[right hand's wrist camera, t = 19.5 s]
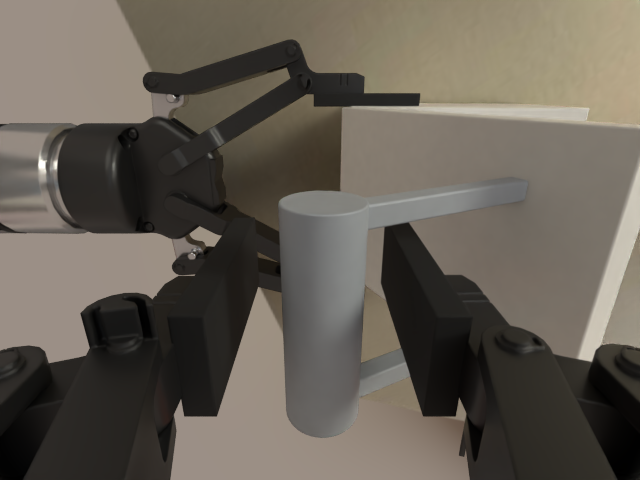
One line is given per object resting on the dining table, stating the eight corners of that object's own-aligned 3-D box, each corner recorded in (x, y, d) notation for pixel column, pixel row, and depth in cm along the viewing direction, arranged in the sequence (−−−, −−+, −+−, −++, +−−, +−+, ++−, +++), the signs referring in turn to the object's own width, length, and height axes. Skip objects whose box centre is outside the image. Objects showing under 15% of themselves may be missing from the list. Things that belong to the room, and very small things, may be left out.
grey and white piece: (675, 126, 10) (358, 151, 5) (577, 416, 13) (342, 565, 9) (360, 107, 22) (186, 110, 17) (354, 261, 25) (208, 294, 21)
